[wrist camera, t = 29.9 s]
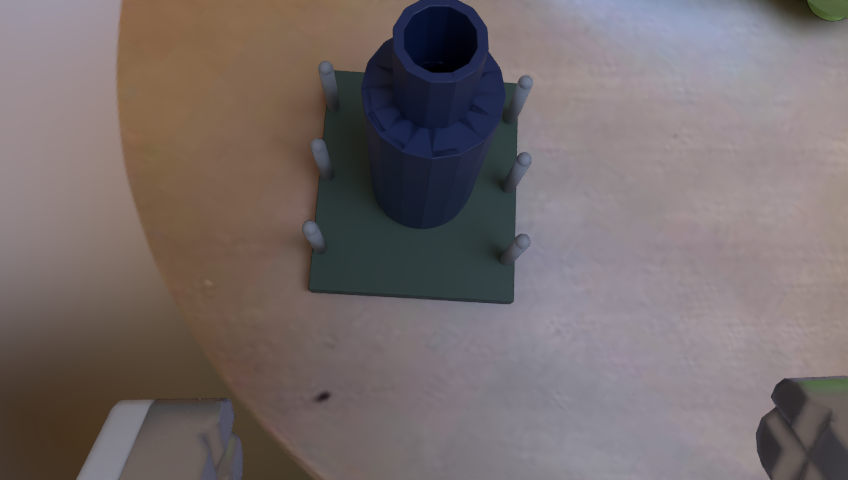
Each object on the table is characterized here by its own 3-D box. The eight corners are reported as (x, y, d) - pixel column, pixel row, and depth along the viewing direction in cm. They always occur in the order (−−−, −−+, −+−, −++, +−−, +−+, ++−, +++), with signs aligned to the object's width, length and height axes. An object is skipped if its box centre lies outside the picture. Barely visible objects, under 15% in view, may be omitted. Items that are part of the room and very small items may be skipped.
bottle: (489, 197, 37) (556, 66, 22) (405, 247, 37) (413, 147, 21) (437, 118, 38) (465, -61, 23) (353, 165, 38) (324, 11, 22)
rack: (510, 304, 37) (533, 288, 31) (311, 292, 37) (293, 274, 31) (514, 91, 40) (536, 38, 34) (331, 78, 40) (319, 22, 34)
